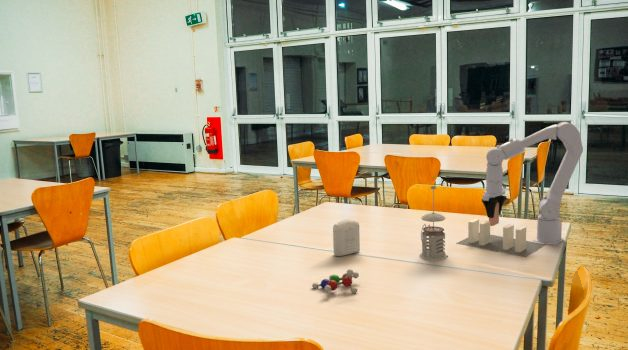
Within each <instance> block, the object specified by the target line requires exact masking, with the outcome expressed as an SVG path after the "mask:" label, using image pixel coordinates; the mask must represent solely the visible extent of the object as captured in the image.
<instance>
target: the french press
mask: <svg viewBox="0 0 628 350" xmlns="http://www.w3.org/2000/svg"><path fill="white" fill-rule="evenodd" d="M430 190H432V212H429V213H425V214H424V215H422V216H421V220H422V221H425V222H429V223H432V224H433V225H432V226H431V224H428V225H426V223H424V224H423V225H422V227H421V231H420V239H421V253H420V254H419V258H421V259H422V260H425V261H432V262H435V261H436V262H437V261H438V262H439V261H444V260H447V259H448V258H449V256H448V255H447V253H446V252H445V251H446V248H445V247H446V233H445V232H444V231H445V229H444V227H441V226H435V223H437V222H442V221H444V220H445V219H446V217H445V216H444V215H443V214H441V213H437V212H435V211H434V210H435V208H434V207H435V205H434V203H435V201H434V200H435V199H434V198H435V197H434V196H435V194H434V191H435V190H437V186H435V185H431V186H430Z"/></svg>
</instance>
